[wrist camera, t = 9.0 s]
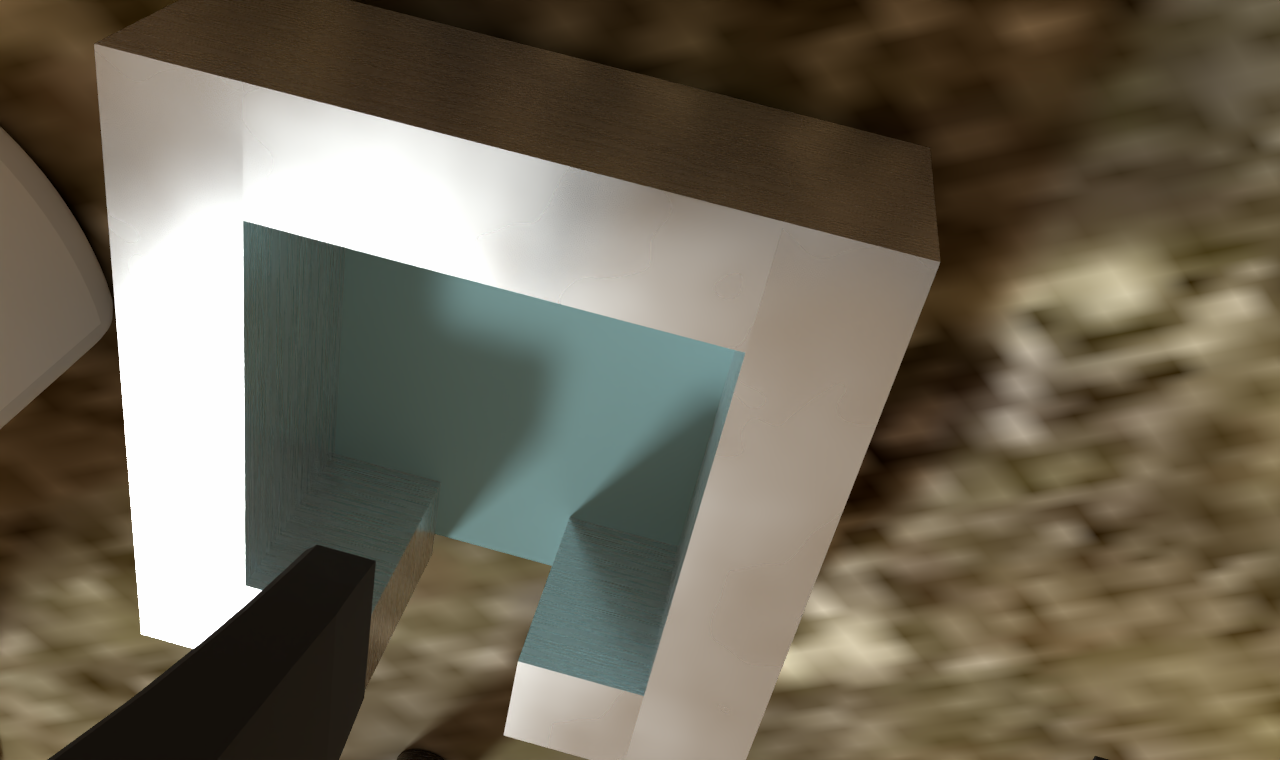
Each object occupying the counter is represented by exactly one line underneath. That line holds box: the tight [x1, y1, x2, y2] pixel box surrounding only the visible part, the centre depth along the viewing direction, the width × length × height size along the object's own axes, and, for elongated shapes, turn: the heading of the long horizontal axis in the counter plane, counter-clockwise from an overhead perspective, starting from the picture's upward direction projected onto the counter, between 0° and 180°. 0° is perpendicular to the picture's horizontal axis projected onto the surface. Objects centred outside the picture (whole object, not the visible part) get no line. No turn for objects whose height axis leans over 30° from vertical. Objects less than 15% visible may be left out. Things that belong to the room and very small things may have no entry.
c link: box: [94, 0, 940, 760], centre depth 17 cm, size 10×10×4 cm
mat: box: [335, 248, 735, 566], centre depth 19 cm, size 10×9×1 cm
